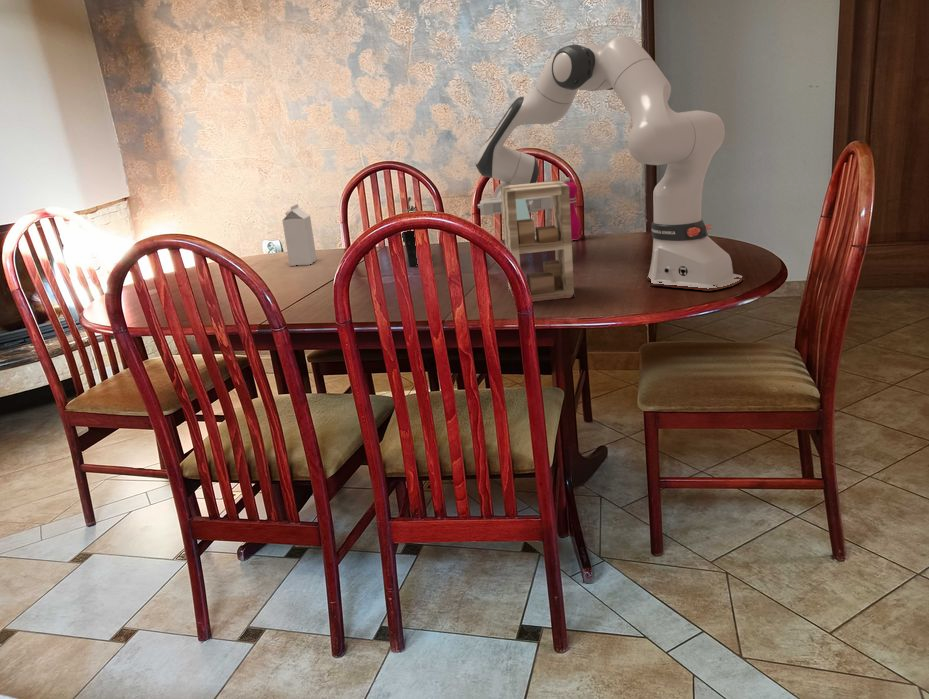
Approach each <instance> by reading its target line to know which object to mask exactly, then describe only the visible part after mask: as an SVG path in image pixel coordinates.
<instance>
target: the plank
mask: <svg viewBox="0 0 929 699" xmlns="http://www.w3.org/2000/svg"><path fill="white" fill-rule="evenodd" d="M516 213H517V220H524V219H531V215H530V213H529V212H528V208H527V204H526V200H525V198H524V199H516Z"/></svg>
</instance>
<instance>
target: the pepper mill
mask: <svg viewBox="0 0 929 699" xmlns="http://www.w3.org/2000/svg"><path fill="white" fill-rule="evenodd" d="M564 183H565V184H567V185H569V196H570V217H571V238H572V239H577V238H580V239H581V236H580V235H581V234H580V233H579V232H580V230H581V228H582V226H581V224H582V223H581V221H580V218H579V216H578V214H577V212H576V202H577V197H576V195H577V193H578V187H577V185H576V184H575V183H574V182H572V181H571V178H570V177H569V176H568V177H567V176H566V177H565V178H564Z"/></svg>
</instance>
